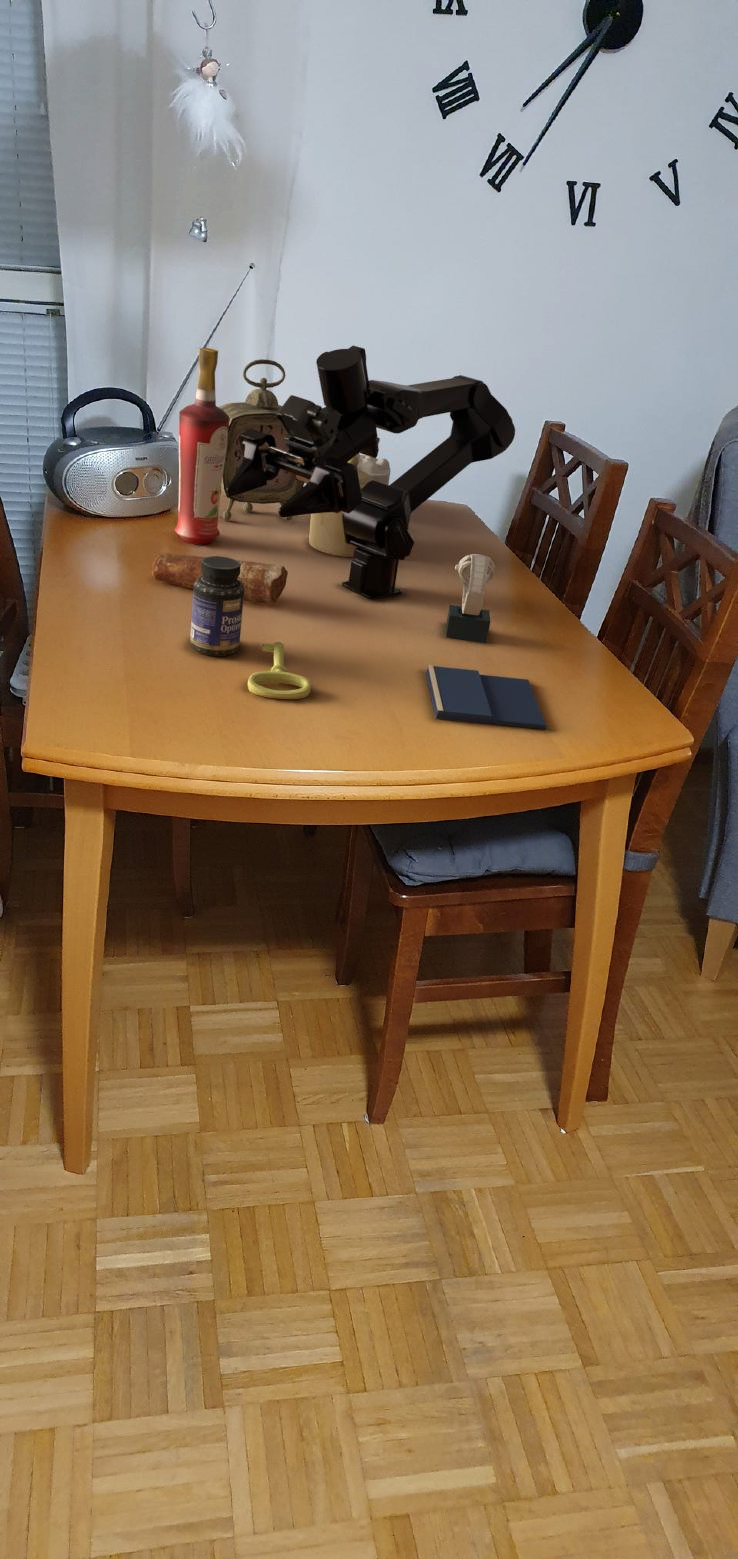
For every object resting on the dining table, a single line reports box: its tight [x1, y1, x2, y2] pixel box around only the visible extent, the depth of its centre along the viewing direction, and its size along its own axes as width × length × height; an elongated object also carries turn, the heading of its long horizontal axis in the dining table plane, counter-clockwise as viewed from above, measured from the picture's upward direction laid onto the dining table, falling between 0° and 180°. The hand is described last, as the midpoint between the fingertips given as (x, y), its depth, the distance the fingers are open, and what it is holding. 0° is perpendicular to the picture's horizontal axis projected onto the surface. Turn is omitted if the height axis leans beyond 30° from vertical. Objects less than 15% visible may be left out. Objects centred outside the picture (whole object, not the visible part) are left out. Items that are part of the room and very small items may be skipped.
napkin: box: [425, 664, 547, 730], centre depth 144 cm, size 13×13×1 cm
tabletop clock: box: [218, 359, 305, 522], centre depth 192 cm, size 14×9×25 cm, turn 114°
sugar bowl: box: [308, 455, 375, 558], centre depth 186 cm, size 15×11×15 cm
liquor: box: [174, 347, 230, 545], centre depth 177 cm, size 7×7×28 cm
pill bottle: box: [189, 555, 244, 657], centre depth 145 cm, size 6×6×11 cm
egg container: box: [357, 453, 391, 485], centre depth 209 cm, size 10×13×9 cm
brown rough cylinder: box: [151, 553, 289, 605], centre depth 163 cm, size 6×19×6 cm, turn 75°
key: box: [247, 641, 311, 700], centre depth 141 cm, size 7×12×2 cm, turn 23°
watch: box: [445, 553, 496, 644], centre depth 160 cm, size 6×8×11 cm
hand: (253, 503), depth 147 cm, fingers open, 9 cm apart
